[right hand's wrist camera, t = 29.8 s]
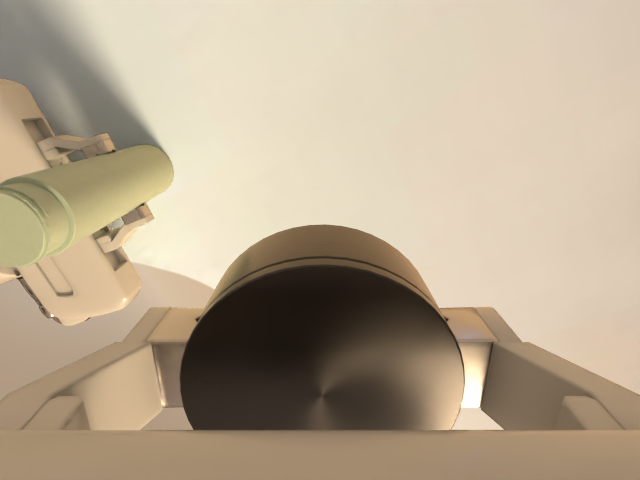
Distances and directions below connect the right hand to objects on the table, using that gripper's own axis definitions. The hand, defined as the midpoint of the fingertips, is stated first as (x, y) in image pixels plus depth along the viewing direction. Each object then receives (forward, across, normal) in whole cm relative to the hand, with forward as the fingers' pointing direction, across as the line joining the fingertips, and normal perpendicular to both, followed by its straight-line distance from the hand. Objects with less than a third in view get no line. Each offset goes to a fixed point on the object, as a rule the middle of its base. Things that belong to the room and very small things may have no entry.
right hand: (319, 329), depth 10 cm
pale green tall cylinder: (+28, +16, +1) cm, 33 cm away
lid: (-2, 0, 0) cm, 2 cm away
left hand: (+22, +16, 0) cm, 27 cm away
